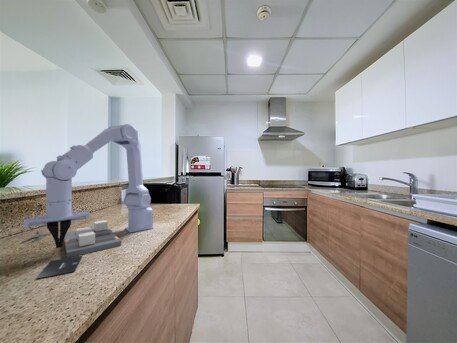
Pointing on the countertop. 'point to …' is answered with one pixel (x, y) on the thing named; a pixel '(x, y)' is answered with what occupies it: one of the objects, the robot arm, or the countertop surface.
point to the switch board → (102, 241)
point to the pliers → (37, 236)
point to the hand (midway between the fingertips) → (59, 246)
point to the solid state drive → (60, 267)
